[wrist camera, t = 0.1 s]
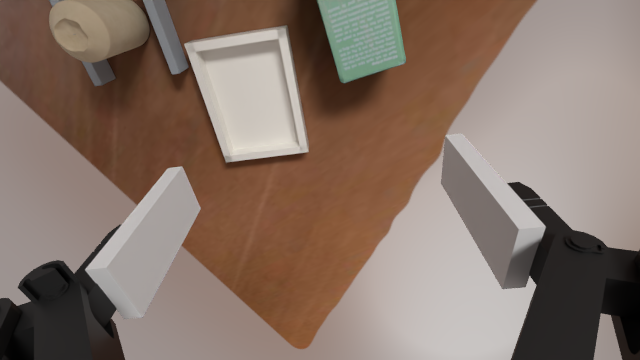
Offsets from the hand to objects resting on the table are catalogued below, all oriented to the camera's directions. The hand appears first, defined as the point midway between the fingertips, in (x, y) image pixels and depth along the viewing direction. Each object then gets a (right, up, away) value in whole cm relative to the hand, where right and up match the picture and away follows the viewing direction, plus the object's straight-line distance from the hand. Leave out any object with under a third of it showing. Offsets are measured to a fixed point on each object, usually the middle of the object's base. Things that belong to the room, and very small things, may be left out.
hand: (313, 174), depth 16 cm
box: (+4, +20, +21) cm, 29 cm away
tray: (-8, +11, +26) cm, 30 cm away
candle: (-23, +19, +22) cm, 37 cm away
